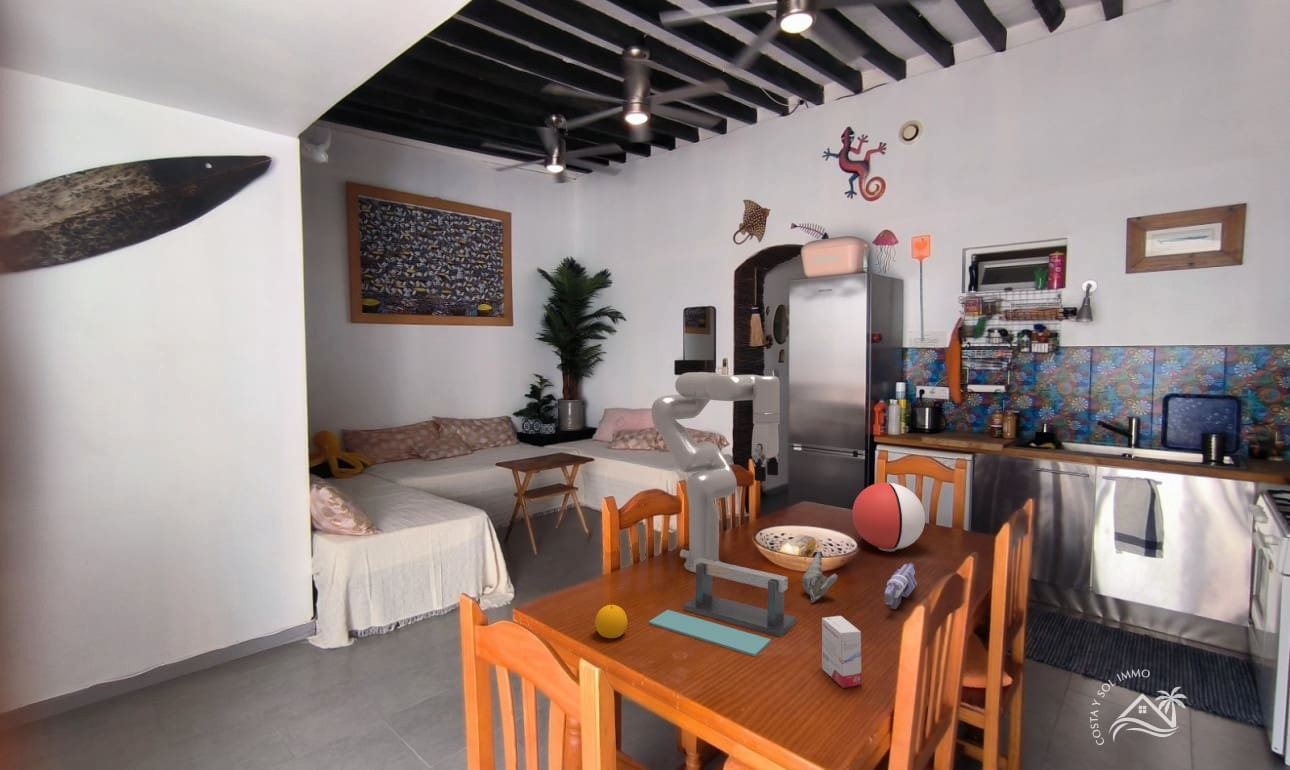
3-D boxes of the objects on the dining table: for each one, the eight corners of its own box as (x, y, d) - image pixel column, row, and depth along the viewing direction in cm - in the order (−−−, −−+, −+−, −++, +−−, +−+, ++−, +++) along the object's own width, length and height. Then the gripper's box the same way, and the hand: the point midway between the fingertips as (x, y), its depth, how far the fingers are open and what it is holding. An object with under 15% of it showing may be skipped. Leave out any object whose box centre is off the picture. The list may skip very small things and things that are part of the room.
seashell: (793, 600, 177) (794, 565, 176) (814, 582, 191) (815, 549, 190) (828, 608, 171) (829, 573, 171) (847, 589, 185) (848, 556, 184)
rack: (683, 610, 170) (684, 565, 170) (702, 598, 178) (702, 555, 178) (780, 637, 154) (781, 587, 153) (796, 622, 162) (796, 575, 162)
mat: (648, 623, 162) (648, 621, 162) (667, 611, 169) (667, 609, 169) (755, 656, 145) (755, 654, 145) (771, 641, 152) (771, 639, 152)
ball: (908, 539, 234) (935, 560, 210) (843, 538, 234) (864, 559, 211) (909, 476, 232) (937, 490, 209) (844, 476, 233) (865, 490, 209)
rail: (693, 571, 172) (693, 560, 172) (699, 568, 174) (699, 557, 174) (783, 592, 157) (783, 580, 157) (787, 588, 160) (787, 577, 159)
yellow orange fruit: (622, 626, 161) (622, 597, 160) (631, 639, 153) (631, 609, 153) (592, 630, 158) (591, 601, 158) (599, 644, 150) (599, 614, 150)
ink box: (862, 686, 132) (863, 631, 131) (840, 689, 131) (841, 634, 130) (840, 665, 141) (841, 614, 140) (820, 668, 139) (821, 616, 139)
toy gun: (923, 588, 186) (924, 561, 185) (901, 622, 163) (902, 592, 163) (897, 583, 190) (898, 557, 190) (872, 615, 167) (873, 585, 167)
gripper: (765, 415, 189) (765, 471, 190) (742, 421, 174) (742, 481, 175) (789, 416, 185) (789, 474, 186) (767, 422, 170) (767, 484, 171)
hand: (766, 477), depth 180 cm, fingers open, 9 cm apart
